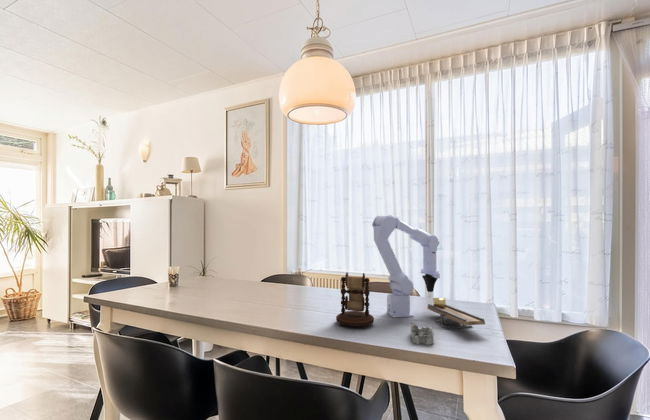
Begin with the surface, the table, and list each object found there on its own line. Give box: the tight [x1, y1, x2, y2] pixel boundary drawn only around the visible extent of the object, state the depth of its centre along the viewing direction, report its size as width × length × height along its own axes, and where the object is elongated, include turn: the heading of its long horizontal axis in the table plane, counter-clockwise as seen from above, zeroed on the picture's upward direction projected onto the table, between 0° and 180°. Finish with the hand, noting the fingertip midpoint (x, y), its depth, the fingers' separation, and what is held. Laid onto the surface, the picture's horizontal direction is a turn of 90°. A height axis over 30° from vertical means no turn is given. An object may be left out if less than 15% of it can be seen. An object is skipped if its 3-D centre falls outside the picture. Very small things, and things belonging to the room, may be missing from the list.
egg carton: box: [410, 322, 435, 346], centre depth 110 cm, size 11×8×4 cm
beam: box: [427, 303, 486, 326], centre depth 126 cm, size 8×28×2 cm, turn 8°
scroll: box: [335, 272, 375, 329], centre depth 127 cm, size 15×15×20 cm
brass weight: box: [432, 297, 447, 308], centre depth 137 cm, size 5×5×4 cm
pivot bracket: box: [434, 313, 473, 330], centre depth 126 cm, size 11×8×4 cm
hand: (430, 291), depth 146 cm, fingers closed
